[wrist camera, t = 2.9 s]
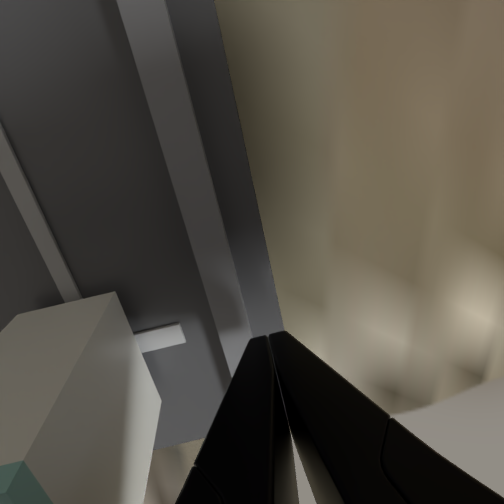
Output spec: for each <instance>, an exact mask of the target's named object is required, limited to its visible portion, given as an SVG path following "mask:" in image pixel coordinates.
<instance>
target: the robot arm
mask: <svg viewBox="0 0 504 504" xmlns="http://www.w3.org/2000/svg"><path fill="white" fill-rule="evenodd" d="M268 338H269V339H268ZM269 343H270V344H269ZM270 347H271V348H270ZM271 351H272V352H271ZM272 355H273V356H272ZM274 364H275V365H274ZM275 368H276V369H275ZM276 372H277V373H276ZM277 376H278V377H277ZM279 385H280V386H279ZM280 389H281V390H280ZM281 393H282V394H281ZM282 397H283V398H282ZM284 406H285V407H284ZM285 410H286V411H285ZM286 414H287V415H286ZM287 418H288V419H287ZM288 422H289V424H288ZM289 426H290V428H289ZM290 430H291V433H290ZM291 434H292V437H293V440H294V443H295V446H296V449H297V452H298V454H299V457H300V460H301V462H302V465H303V468H304V471H305V473H306V476H307V479H308V481H309V484H310V487H311V489H312V492H313V495H314V498H315V500H316V503H317V504H504V498H503V497H502V496H500V495H499V494H497V493H495V492H494V491H493V490H491V489H490V488H488V487H487V486H485V485H484V484H482V483H481V482H479V481H478V480H476V479H475V478H473V477H472V476H470V475H469V474H467V473H466V472H465V471H463V470H462V469H460V468H459V467H457V466H456V465H454V464H453V463H451V462H450V461H449V460H447V459H446V458H444V457H443V456H441V455H440V454H439V453H437V452H436V451H435V450H433V449H432V448H431V447H429V446H428V445H427V444H425V443H424V442H423V441H422V440H420V439H419V438H418V437H416V436H415V435H414V434H412V433H411V432H410V431H409V430H407V429H406V428H405V427H404V426H403V425H401V424H400V423H399V422H397V421H396V420H395V419H394V418H390V415H389V414H388V413H386V412H385V411H384V410H383V409H381V408H380V407H379V406H378V405H377V404H375V403H374V402H373V401H372V400H370V399H369V398H368V397H367V396H366V395H364V394H363V393H362V392H361V391H359V390H358V389H357V388H356V387H354V386H353V385H352V384H351V383H350V382H348V381H347V380H346V379H345V378H343V377H342V376H341V375H340V374H338V373H337V372H336V371H335V370H334V369H332V368H331V367H330V366H329V365H327V364H326V363H325V362H324V361H323V360H321V359H320V358H319V357H318V356H316V355H315V354H314V353H313V352H311V351H310V350H309V349H308V348H307V347H305V346H304V345H303V344H302V343H300V342H299V341H298V340H297V339H295V338H294V337H293V336H292V335H291V334H289V333H288V332H287V331H284V330H283V331H279V332H275V333H271V334H269V336H268V337H267V336H266V335H262V336H258V337H254V338H251V339H250V340H249V341H248V343H247V346H246V348H245V350H244V352H243V355H242V357H241V359H240V361H239V364H238V366H237V368H236V370H235V372H234V375H233V377H232V379H231V381H230V384H229V386H228V388H227V390H226V393H225V395H224V397H223V399H222V401H221V404H220V406H219V408H218V410H217V413H216V415H215V417H214V419H213V422H212V424H211V426H210V428H209V430H208V433H207V435H206V437H205V439H204V442H203V444H202V446H201V448H200V451H199V453H198V455H197V457H196V459H195V462H194V466H193V467H192V468H191V470H190V472H189V475H188V477H187V479H186V481H185V484H184V486H183V488H182V490H181V492H180V494H179V496H178V498H177V501H176V503H175V504H299V498H298V490H297V481H296V472H295V463H294V454H293V446H292V439H291Z"/></svg>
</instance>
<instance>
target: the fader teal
mask: <svg viewBox="0 0 504 504" xmlns="http://www.w3.org/2000/svg"><path fill="white" fill-rule="evenodd" d="M161 402H162V401H161V398H160V396H159V394H158V391H157V389H156V386H155V384H154V382H153V379H152V377H151V375H150V372H149V370H148V368H147V365H146V363H145V360H144V358H143V356H142V353H141V351H140V349H139V346H138V344H137V341H136V339H135V337H134V334H133V332H132V330H131V327H130V325H129V323H128V320H127V318H126V315H125V313H124V311H123V308H122V306H121V304H120V301H119V299H118V296H117V294H116V292H115V291H114V292H110V293H106V294H101V295H97V296H93V297H89V298H85V299H80V300H76V301H72V302H68V303H64V304H59V305H55V306H51V307H47V308H43V309H38V310H34V311H30V312H26V313H22V314H17V315H16V316H15V317H14V319H13V320H12V321H11V322H10V323H9V324H8V325H7V326H6V327H5V328H4V329H3V330H2V331H1V332H0V504H143V502H144V496H145V491H146V485H147V479H148V474H149V468H150V463H151V457H152V452H153V446H154V441H155V435H156V430H157V424H158V418H159V413H160V407H161Z"/></svg>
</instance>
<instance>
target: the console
mask: <svg viewBox="0 0 504 504" xmlns="http://www.w3.org/2000/svg"><path fill="white" fill-rule="evenodd" d="M114 291H115V292H116V294H117V296H118V299H119V301H120V304H121V306H122V308H123V311H124V313H125V315H126V318H127V320H128V323H129V325H130V327H131V330H132V332H133V334H134V337H135V339H136V341H137V344H138V346H139V349H140V351H141V353H142V356H143V358H144V360H145V363H146V365H147V368H148V370H149V372H150V375H151V377H152V379H153V382H154V384H155V386H156V389H157V391H158V394H159V396H160V398H161V401H162V402H161V407H160V413H159V418H158V424H157V430H156V435H155V441H154V446H153V450H156V449H160V448H164V447H169V446H173V445H177V444H181V443H185V442H189V441H193V440H197V439H201V438H205V437H206V435H207V433H208V430H209V428H210V426H211V424H212V422H213V419H214V417H215V415H216V413H217V410H218V408H219V406H220V404H221V401H222V399H223V397H224V395H225V393H226V390H227V388H228V386H229V384H230V381H231V379H232V377H233V375H234V372H235V370H236V368H237V366H238V364H239V361H240V359H241V357H242V355H243V352H244V350H245V348H246V346H247V343H248V341H249V340H250V339H251V338H254V337H258V336H262V335H266V336H267V337H268V336H269V334H271V333H275V332H279V331H283V330H284V326H283V322H282V317H281V312H280V308H279V303H278V298H277V294H276V289H275V284H274V280H273V275H272V270H271V266H270V261H269V256H268V252H267V247H266V242H265V237H264V233H263V228H262V223H261V219H260V214H259V209H258V205H257V200H256V195H255V191H254V186H253V181H252V177H251V172H250V167H249V163H248V158H247V153H246V149H245V144H244V139H243V135H242V130H241V125H240V121H239V116H238V111H237V107H236V102H235V97H234V92H233V88H232V83H231V78H230V74H229V69H228V64H227V60H226V55H225V50H224V46H223V41H222V36H221V32H220V27H219V22H218V18H217V13H216V8H215V4H214V0H0V332H1V331H2V330H3V329H4V328H5V327H6V326H7V325H8V324H9V323H10V322H11V321H12V320H13V319H14V317H15V316H16V315H17V314H22V313H26V312H30V311H34V310H38V309H43V308H47V307H51V306H55V305H59V304H64V303H68V302H72V301H76V300H80V299H85V298H89V297H93V296H97V295H101V294H106V293H110V292H114ZM268 339H269V338H268ZM269 344H270V343H269ZM270 348H271V347H270ZM271 352H272V351H271ZM272 356H273V355H272ZM274 365H275V364H274ZM275 369H276V368H275ZM276 373H277V372H276ZM277 377H278V376H277ZM279 386H280V385H279ZM280 390H281V389H280ZM281 394H282V393H281ZM282 398H283V397H282ZM284 407H285V406H284ZM285 411H286V410H285ZM286 415H287V414H286Z"/></svg>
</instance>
